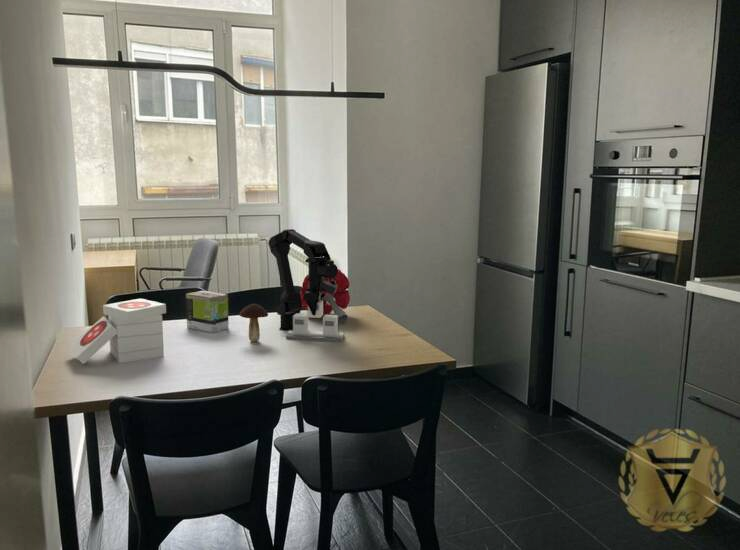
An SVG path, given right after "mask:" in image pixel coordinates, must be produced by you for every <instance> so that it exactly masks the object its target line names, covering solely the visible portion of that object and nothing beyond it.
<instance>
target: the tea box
mask: <svg viewBox="0 0 740 550" xmlns="http://www.w3.org/2000/svg"><path fill="white" fill-rule="evenodd" d="M228 295H229V294H228V293H223V292H222V293H221V292H216V291H215V292H214V291H209V290H199V291H195V292H193V291H192V292H188V293H186V294H185V306H186V307H185V310H186V311H185V312H186V313H185V314H186V328H189V329H193V330H198V331H202V332H208V333H212V334H213V333H216V332H219V331H220V332H221V331H223V330H224V331H225V330H226V329H229V296H228Z"/></svg>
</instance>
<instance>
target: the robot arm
mask: <svg viewBox="0 0 740 550" xmlns="http://www.w3.org/2000/svg"><path fill="white" fill-rule="evenodd" d="M267 244H268V246H269V249H270V253H271V254H272V255H273V256H274V258H275V260H276V265H277V271H278V275H279V279H280V285H281V291H282V292H281V295H280V303H279V305H278V306H277V308H276V314H277V315H278V316H280V326H279V328H278V329H279V330H281V331H282V330H283V331H284V330H286V331H289V330H292V331H293V316H294V315H295V314H296V313H300V314H301V311H302V308H303V306H302V300H301V294H300V292H297V290H296V289H295V285H294V281H293V280H294V279H293V275H292V271H291V266H290V260H289V253H290V251H291V245H292V244H293V245H295V246H297V247H298V248H300V249H301V250H303V254H304V255H305V256H306V257H307V259H306V260H305V261H304V262H305V263H308V268H307V269H308V272H307V273H308V274H307V275H308V278H307V281H308V288H307V292H306V293H305V294H304V295H303V300H305V301H306V302H307V304H308V306H309V308H310V310H311V313H312V315H316V309H317V304H318V302H319V301H320V300H321V299H322V298H323V297H324V296H325V295H326V294H322V291H325V293H326V292H328V293H330V294H331V295H334V294H335V292H336V289H337V287H338V286H337V285H336V281H334V280H332V281H331V282H329V281H328V282H327V281H325V278H324V277H326V278H330V279H333V278H335V277H336V276H337V273H338V269H339V268H338V266H337V265H336V263H335V260H332V258H331V255H330V254H329V252H328V249H327V247H326V245H325V243H324V242H321V241H319V240H318V241H317V240H312V239H309V238H308V237H306V236H304V235H302V234H301V233H299V232H297V230H295V229H293V228H290V229H284V230H282V231H280V232H279V233H277V234H275V235H273V236H271V237H270V238H269V239H268V243H267Z"/></svg>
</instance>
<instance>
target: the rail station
mask: <svg viewBox="0 0 740 550" xmlns="http://www.w3.org/2000/svg"><path fill="white" fill-rule="evenodd" d="M338 324H339V323H338V315H334V314H329V315H324V316H323V317H322V331H313V330H311V331H309V317H308V313H301V312H300V313H296V314H295V315H294V316H293V330H287V334H286V335H285V339H286V340H294V339H297V340H298V341H299V340H300V341H313V342H314V341H315V342H316V341H317V342H331V341H337V342H336V343H341V342H342V341H343V340H344V338H345V333H344V332H339V331H338V330H339V328H338V327H339V325H338ZM342 339H343V340H342Z"/></svg>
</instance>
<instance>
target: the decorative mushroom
mask: <svg viewBox="0 0 740 550" xmlns="http://www.w3.org/2000/svg"><path fill="white" fill-rule="evenodd" d="M238 316H240V317H242V318H245V319H249V324H248V339H249V341H250V342H253V343H256V342H258V341H259V340H260V337H261V336H260V322H259V318H267V317H268V316H269V314H268V311H267V310H266V309H265V308H264V307H263V306H261V305H260V304H258V303H251V304H248V305H247V306H245V307H243V308H242V309H241V310H240V312H239V314H238Z"/></svg>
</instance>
